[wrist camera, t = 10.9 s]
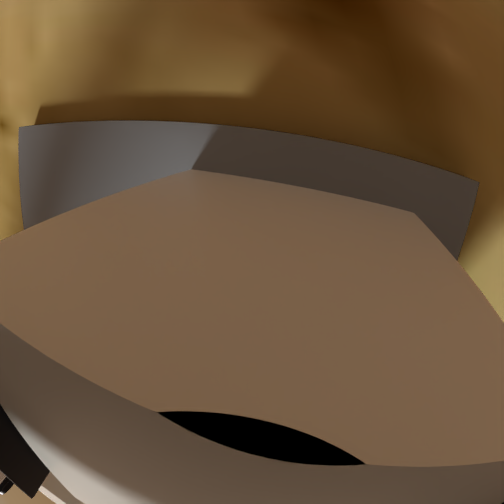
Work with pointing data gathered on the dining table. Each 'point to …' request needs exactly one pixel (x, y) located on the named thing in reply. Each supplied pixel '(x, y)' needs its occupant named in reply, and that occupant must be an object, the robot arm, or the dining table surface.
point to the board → (228, 168)
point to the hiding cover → (250, 350)
